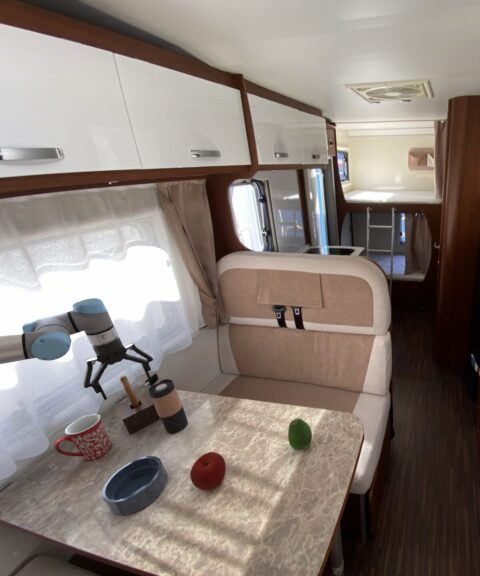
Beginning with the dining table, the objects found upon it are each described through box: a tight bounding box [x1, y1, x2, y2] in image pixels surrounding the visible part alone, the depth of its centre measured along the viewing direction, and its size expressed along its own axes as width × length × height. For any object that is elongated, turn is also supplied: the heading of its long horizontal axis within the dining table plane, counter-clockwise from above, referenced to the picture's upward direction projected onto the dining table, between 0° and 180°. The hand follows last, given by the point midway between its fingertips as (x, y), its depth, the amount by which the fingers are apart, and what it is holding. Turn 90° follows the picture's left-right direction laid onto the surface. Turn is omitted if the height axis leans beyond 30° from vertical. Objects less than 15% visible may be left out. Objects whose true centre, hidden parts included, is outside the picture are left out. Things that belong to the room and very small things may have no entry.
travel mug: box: [147, 378, 189, 435], centre depth 113 cm, size 8×8×20 cm
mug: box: [54, 413, 112, 461], centre depth 104 cm, size 13×9×14 cm
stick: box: [119, 375, 140, 408], centre depth 117 cm, size 2×2×22 cm
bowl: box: [101, 455, 169, 516], centre depth 93 cm, size 15×15×6 cm
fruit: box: [287, 418, 313, 451], centre depth 104 cm, size 8×8×12 cm
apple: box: [189, 451, 227, 491], centre depth 94 cm, size 10×10×10 cm
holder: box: [116, 391, 161, 436], centre depth 119 cm, size 10×10×8 cm
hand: (128, 387), depth 115 cm, fingers open, 13 cm apart
